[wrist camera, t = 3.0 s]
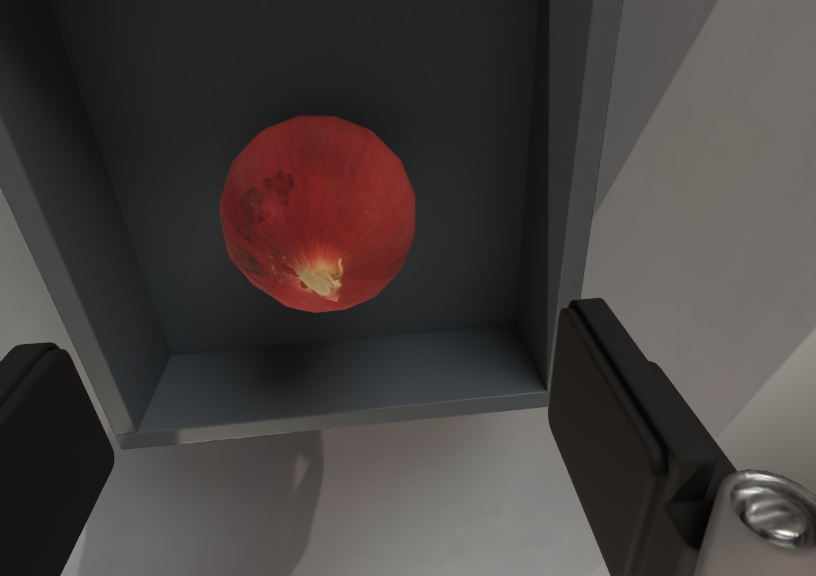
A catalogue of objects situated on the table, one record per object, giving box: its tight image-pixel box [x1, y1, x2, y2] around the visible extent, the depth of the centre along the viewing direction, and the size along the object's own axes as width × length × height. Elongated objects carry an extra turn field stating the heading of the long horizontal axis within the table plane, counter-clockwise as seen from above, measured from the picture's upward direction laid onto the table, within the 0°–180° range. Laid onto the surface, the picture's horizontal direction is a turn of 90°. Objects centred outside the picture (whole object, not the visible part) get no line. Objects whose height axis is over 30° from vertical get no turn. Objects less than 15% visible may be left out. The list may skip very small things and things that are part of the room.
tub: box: [0, 0, 623, 450], centre depth 18 cm, size 17×17×5 cm
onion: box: [219, 115, 415, 313], centre depth 16 cm, size 6×6×8 cm
